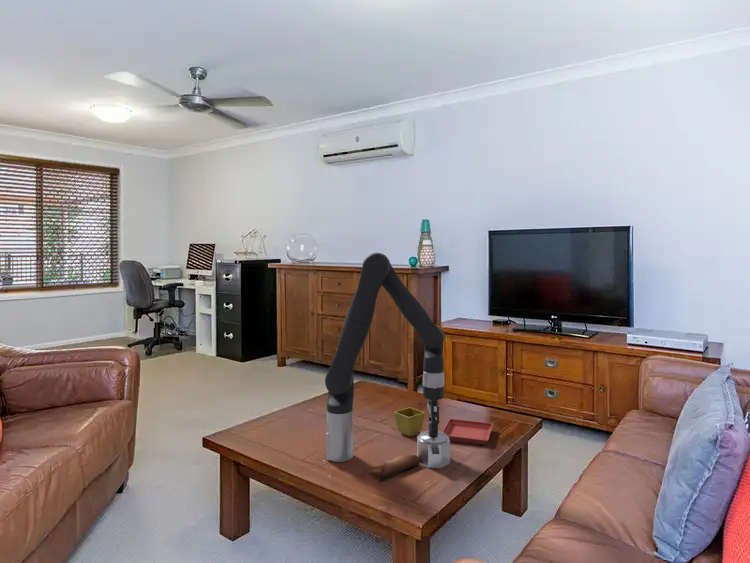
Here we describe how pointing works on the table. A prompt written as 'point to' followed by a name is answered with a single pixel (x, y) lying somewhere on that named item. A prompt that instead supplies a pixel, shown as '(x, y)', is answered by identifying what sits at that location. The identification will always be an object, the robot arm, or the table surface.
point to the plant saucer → (468, 431)
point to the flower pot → (409, 421)
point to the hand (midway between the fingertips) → (433, 429)
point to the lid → (433, 436)
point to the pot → (433, 454)
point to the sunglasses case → (394, 466)
